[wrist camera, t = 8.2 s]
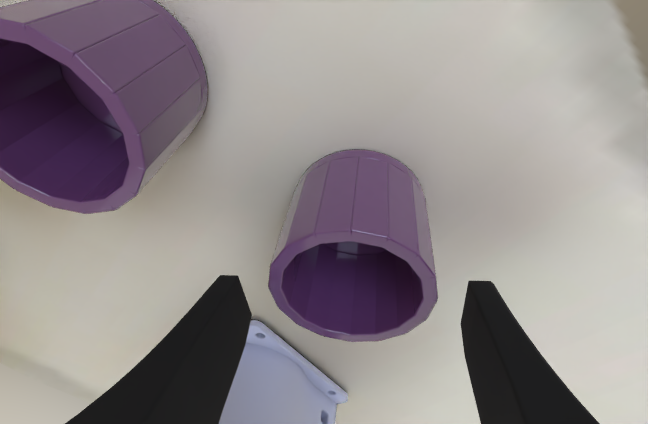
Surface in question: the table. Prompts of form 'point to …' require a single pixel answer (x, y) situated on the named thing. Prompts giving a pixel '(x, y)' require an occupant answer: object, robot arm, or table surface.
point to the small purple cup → (93, 98)
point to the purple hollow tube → (356, 250)
